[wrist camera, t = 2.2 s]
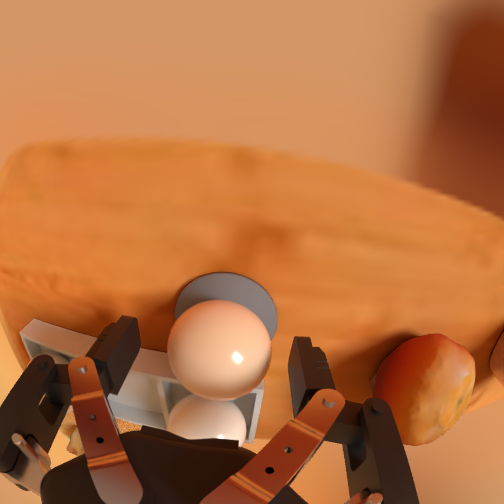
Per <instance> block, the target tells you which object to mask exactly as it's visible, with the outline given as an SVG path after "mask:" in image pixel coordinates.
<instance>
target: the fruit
mask: <svg viewBox="0 0 504 504" xmlns="http://www.w3.org/2000/svg"><path fill="white" fill-rule="evenodd" d="M370 380H371V384H372V391H373V398H379V399H382V400H384V401H386V402H387V403H388V404H389V406H390V408H391V410H392V413H393V416H394V419H395V422H396V425H397V428H398V431H399V434H400V437H401V440H402V443H403V444H405V445H412V446H418V445H422V444H427V443H430V442H433V441H434V440H435V439H437V438H439V437H440V436H442V435H444V434H445V433H446V432H447V431H448V430H450V429H451V427H452V426H453V425H454V424H455V423H456V422H457V421H458V420H459V419H460V417H461V416H462V415H463V413H464V412H465V410H466V407H467V405H468V403H469V401H470V398H471V396H472V391H473V387H474V382H475V361H474V359H473V357H472V356H471V355H470V354H469V352H468V351H467V350H466V348H465V347H463V346H461V345H459V344H457V343H455V342H454V341H452V340H451V339H449V338H448V337H446V336H445V335H442V334H428V335H424V336H419V337H415V338H412V339H409V340H407V341H405V342H404V343H402V344H401V345H399V346H398V347H397V348H396V349H395V350H394V351H393V352H391V353H390V354H389V355H388V356H387V357H386V358H385V359H384V360H383V361H382V363H381V364H380V367H379V368H378V370H377V372H376V375H375V376H374V378H373V379H370Z"/></svg>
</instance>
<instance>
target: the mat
mask: <svg viewBox="0 0 504 504" xmlns="http://www.w3.org/2000/svg"><path fill="white" fill-rule="evenodd" d="M217 299H220V300H229V301H233V302H236V303H239V304H241V305H243V306H245V307H247V308H248V309H250V310H251V311H252V312H254V313H255V314H256V315H257V316H258V317H259V318H260V320H261V321H262V322H263V324H264V325H265V327H266V329H267V331H268V334H269V336H270V340H272V338H273V337H274V334H275V332H276V328H277V311H276V307H275V304H274V302H273V300H272V298H271V296H270V295H269V293H268V292H267V291H266V290H265V289H264V288H263V287H262V286H261V285H260V284H258V283H257V282H256V281H254V280H252V279H250V278H248V277H246V276H243V275H240V274H237V273H231V272H213V273H208V274H205V275H202V276H200V277H198V278H196V279H194V280H193V281H191V282H190V283H189V284H188V285H187V286H186V287H185V288H184V289H183V291H182V292H181V294H180V296H179V298H178V300H177V303H176V306H175V321H176V320H177V319H178V318H179V317H180V316H181V315H182V314H183V313H184V312H185V311H186V310H187V309H189V308H190V307H192V306H194V305H196V304H198V303H201V302H204V301H208V300H217Z"/></svg>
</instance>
